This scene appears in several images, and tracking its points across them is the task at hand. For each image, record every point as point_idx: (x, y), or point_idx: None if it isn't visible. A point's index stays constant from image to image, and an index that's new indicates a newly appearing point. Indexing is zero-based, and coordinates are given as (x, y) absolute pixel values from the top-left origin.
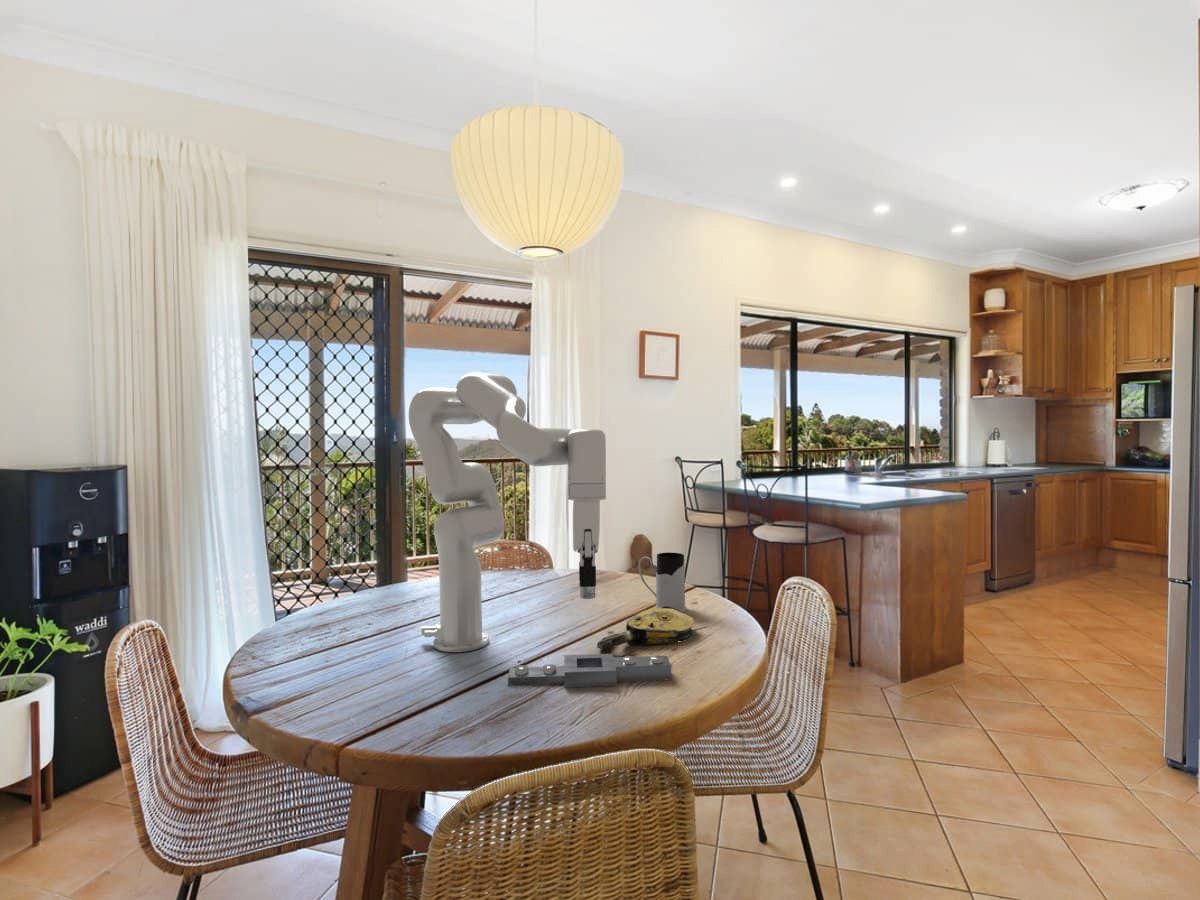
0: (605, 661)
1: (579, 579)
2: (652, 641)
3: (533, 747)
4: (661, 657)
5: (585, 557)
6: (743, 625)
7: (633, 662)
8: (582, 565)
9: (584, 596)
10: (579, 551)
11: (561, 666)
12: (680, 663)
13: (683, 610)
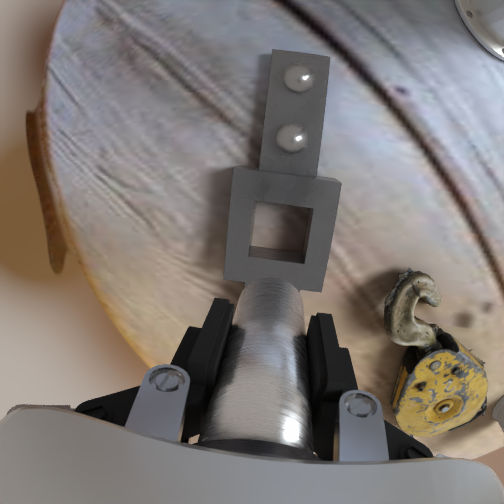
0: (279, 268)
1: (318, 316)
2: (399, 370)
3: (52, 116)
4: None
5: (23, 406)
6: None
7: None
8: (149, 378)
9: (242, 294)
10: None
11: (314, 169)
12: None
13: (493, 417)
